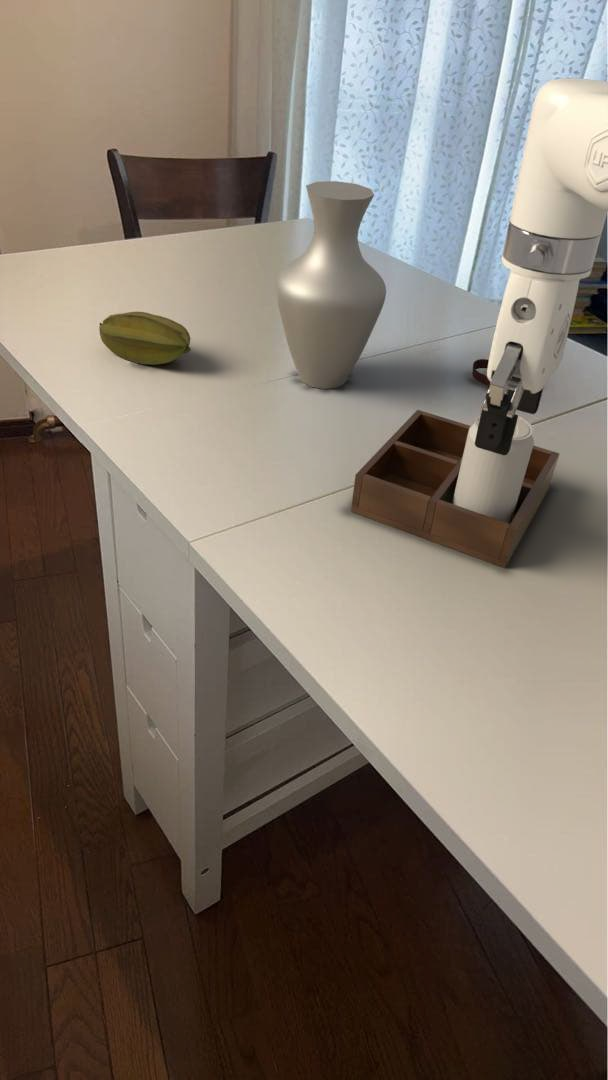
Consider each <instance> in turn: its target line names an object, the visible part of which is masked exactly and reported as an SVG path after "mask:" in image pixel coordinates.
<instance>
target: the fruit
mask: <svg viewBox="0 0 608 1080" xmlns="http://www.w3.org/2000/svg"><path fill="white" fill-rule="evenodd" d="M98 330H99V336H100V340H101V342H102V343H103V344H104V346H105V347H106V348H107V349H108V350H109V351H110V352H111V353H113V354H114V355H116V356H118V357H120V358H121V359H124V360H126V361H128V362H132V363H136V364H139V365H148V366H149V365H151V366H155V365H163V364H168V363H171V362H174V361H175V360H176V359H178V358H180V357H181V356H183V355H186V354H188V353H189V352H191V350H192V349H191V347H190V345H191V339H192V338H191V336H190V332H189V331H188V330H187V328H186V327H185V326H184V325H183V324H181V323H179V322H176V321H174V320H173V319H170V318H168V317H165V316H161V315H157V314H153V313H149V312H145V311H130V312H129V311H128V312H122V313H115V314H110V315H109V316H107V317H106V318H104V319H103V320H102V322H99V327H98Z"/></svg>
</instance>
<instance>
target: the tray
mask: <svg viewBox="0 0 608 1080" xmlns="http://www.w3.org/2000/svg"><path fill="white" fill-rule="evenodd" d="M471 426H472V425H469V424H466V423H462V422H459V421H456V420H453V419H450V418H447V417H443V416H440V415H437V414H433V413H430V412H428V411H423V410H420V409H417V410H415V411H414V412H413V414H412V415H411V416H410V417H408V419H406V421H405V422H404V423H403V424H402V425H401V426H400V427H399V428H398V429H397V430H396V431H395V432H394V433H393V434H392V436H391V437H390V438H389V439H388V440H387V441H386V442H385V443H384V444H383V445H382V446H381V447H380V448H379V449H378V451H377V452H376V453H375V454H374V455H372V457H371V458H370V459H369V460H368V461H367V462H366V463H365V464H363V466H362V467H361V468H360V469H359V470H358V472H356V473H355V477H354V484H353V492H352V497H351V498H352V499H351V505H350V507H351V508H350V512H352V513H354V514H356V515H359V516H362V517H365V518H367V519H370V520H373V521H375V522H379V523H381V524H384V525H387V526H389V527H392V528H395V529H398V530H400V531H403V532H406V533H408V534H411V535H413V536H417V537H419V538H422V539H425V540H428V541H430V542H433V543H436V544H439V545H442V546H444V547H447V548H449V549H452V550H454V551H458V552H461V553H463V554H466V555H468V556H471V557H474V558H477V559H480V560H482V561H485V562H487V563H491V564H492V565H496V566H499V567H501V568H505V569H506V567H507V565H508V563H509V562H510V559H511V557H512V556H513V554H514V552H515V550H516V549H517V547H518V545H519V543H520V541H521V540H522V538H523V536H524V534H525V533H526V531H527V529H528V527H529V525H530V524H531V522H532V520H533V518H534V516H535V514H536V512H537V510H538V509H539V507H540V505H541V503H542V502H543V500H544V498H545V496H546V494H547V492H548V491H549V489H550V486H551V483H552V480H553V477H554V473H555V470H556V466H557V464H558V460H559V457H560V452H556V451H553V450H550V449H547V448H544V447H540V446H537V445H533V448H532V452H531V455H530V459H529V462H528V466H527V469H526V473H525V476H524V480H523V483H522V487H521V490H520V493H519V497H518V500H517V504H516V507H515V511H514V514H513V518H512V521H511V524H509V523H506V522H503V521H500V520H497V519H494V518H492V517H489V516H486V515H483V514H480V513H477V512H474V511H471V510H469V509H466V508H463V507H460V506H457V505H454V504H452V502H453V497H454V493H455V489H456V484H457V480H458V475H459V471H460V467H461V462H462V458H463V453H464V449H465V445H466V440H467V436H468V432H469V428H470V427H471Z"/></svg>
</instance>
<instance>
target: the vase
mask: <svg viewBox="0 0 608 1080" xmlns="http://www.w3.org/2000/svg"><path fill="white" fill-rule="evenodd" d="M305 188H306V192H307V195H308V200H309V204H310V208H311V209H310V210H311V213H312V214H311V215H312V219H313V235H312V238H311V241H310V243H309V244H308V246H307V248H306V250H305V252H303V253H302V254H301V255H300V256H298V257H296V258H295V259H294V260H291V261H290V262H288V264H286V265H285V266H284V267H283V268H282V269H280V271H279V272H278V273H277V276H276V279H275V290H274V291H275V296H276V297H275V298H276V303H277V307H278V311H279V316H280V319H281V324H282V327H283V331H284V336H285V339H286V344H287V346H288V349H289V352H290V356H291V359H292V361H293V364H294V367H295V370H296V373H297V376H298V377H299V381H300V382H301V383H303V384H305V385H307V386H308V387H311V388H316V389H322V390H328V389H336V388H337V389H338V388H340V387H342V385H344V384H345V383H347V381H348V379H349V376H350V375H351V374H352V371H353V369H354V368H355V367H356V364H357V363H358V362H359V359H360V357H361V355H362V353H363V351H364V350H365V348H366V345H367V344H368V341H369V339H370V337H371V335H372V332H373V330H374V328H375V326H376V324H377V321H378V320H379V317H380V315H381V313H382V309H383V307H384V304H385V301H386V297H387V296H386V295H387V286H386V283H385V281H384V279H383V277H382V276H381V275H380V273H379V272H378V271H377V270H376V269H375V268H374V267H372V266H371V265H370V264H369V263H368V261H366V260H365V258H364V257H363V254H362V251H361V249H360V245H359V230H360V227H361V223H362V221H363V219H364V216H365V214H366V211H367V209H368V208H369V206H370V204H371V202H372V201H373V199H374V197H375V193H374V192H373V190H372V188H369V187H366V186H364V185H360V184H359V183H352V182H345V181H339V180H338V181H337V180H332V181H331V180H329V181H328V180H327V181H315V182H312V183H309V184H306V185H305Z"/></svg>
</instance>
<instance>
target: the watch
mask: <svg viewBox="0 0 608 1080" xmlns="http://www.w3.org/2000/svg"><path fill="white" fill-rule="evenodd" d="M488 362H489V358H488V359H487V358H479V359H476V360H475V361H473V363H472V370H471V375H472V378H473V379H474V380H475V381H476V382H478V383H480V384H482V385H484V386H487V387H489V388H490V381H489V379H488V377H487V374H484V373H482V372H480V371H478V370H479V369H488Z"/></svg>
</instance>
